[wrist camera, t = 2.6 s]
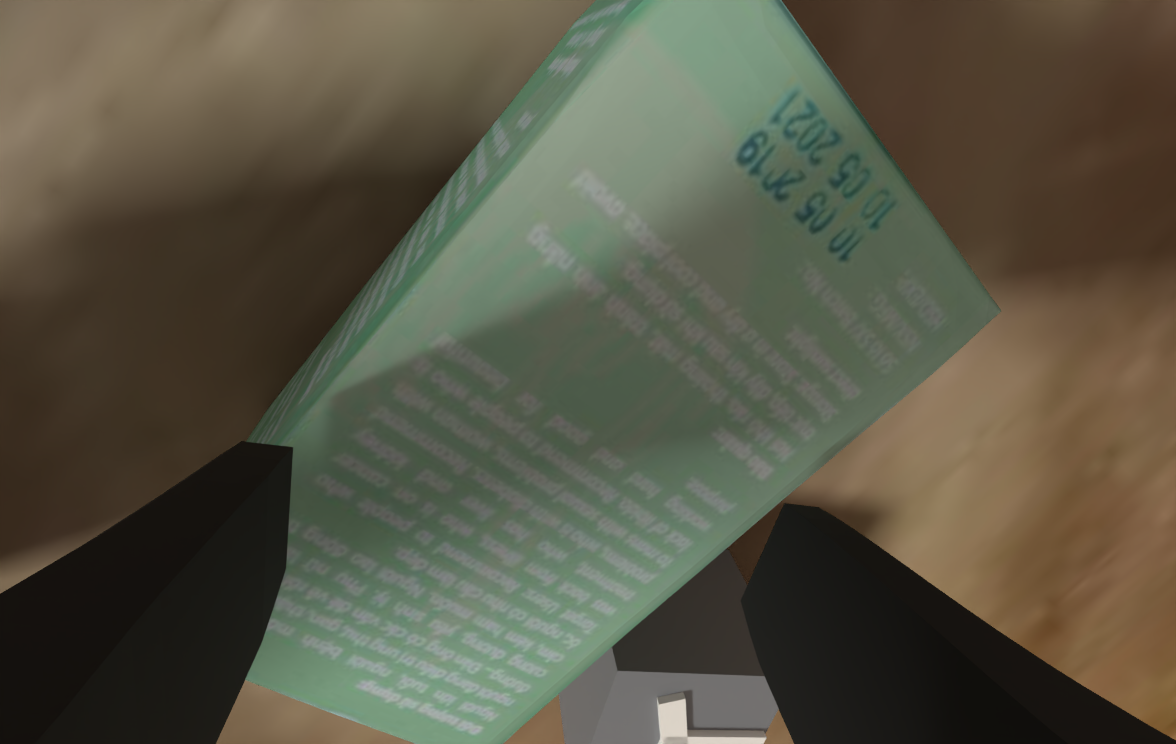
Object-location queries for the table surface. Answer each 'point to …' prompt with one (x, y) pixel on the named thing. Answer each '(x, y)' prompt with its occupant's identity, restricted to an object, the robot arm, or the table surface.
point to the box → (596, 367)
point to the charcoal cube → (677, 674)
